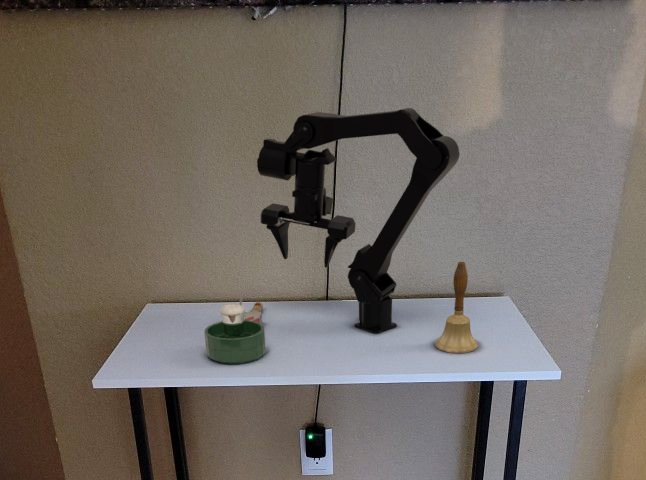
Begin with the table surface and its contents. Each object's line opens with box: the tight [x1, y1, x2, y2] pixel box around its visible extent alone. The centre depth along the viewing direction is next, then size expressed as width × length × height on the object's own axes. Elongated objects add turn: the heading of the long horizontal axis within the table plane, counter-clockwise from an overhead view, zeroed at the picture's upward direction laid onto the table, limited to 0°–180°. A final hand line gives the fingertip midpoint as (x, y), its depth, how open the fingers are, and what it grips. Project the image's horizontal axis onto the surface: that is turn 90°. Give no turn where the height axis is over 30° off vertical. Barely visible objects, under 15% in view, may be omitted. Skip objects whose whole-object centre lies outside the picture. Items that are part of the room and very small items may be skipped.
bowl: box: [204, 320, 267, 365], centre depth 143 cm, size 11×11×5 cm
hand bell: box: [434, 261, 479, 354], centre depth 141 cm, size 8×8×16 cm
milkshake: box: [219, 295, 246, 339], centre depth 141 cm, size 5×5×10 cm
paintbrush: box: [245, 301, 264, 326], centre depth 158 cm, size 4×3×20 cm
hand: (306, 262), depth 156 cm, fingers open, 9 cm apart
